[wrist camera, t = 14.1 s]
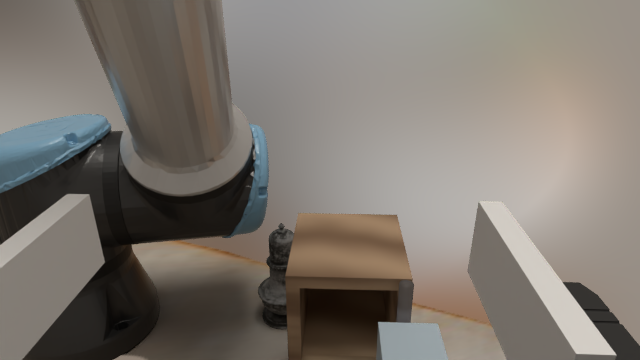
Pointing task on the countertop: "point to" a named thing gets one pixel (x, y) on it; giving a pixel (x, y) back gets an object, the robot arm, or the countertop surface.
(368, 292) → the cabinet
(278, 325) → the salt shaker
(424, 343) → the door
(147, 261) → the countertop surface
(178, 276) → the countertop surface
